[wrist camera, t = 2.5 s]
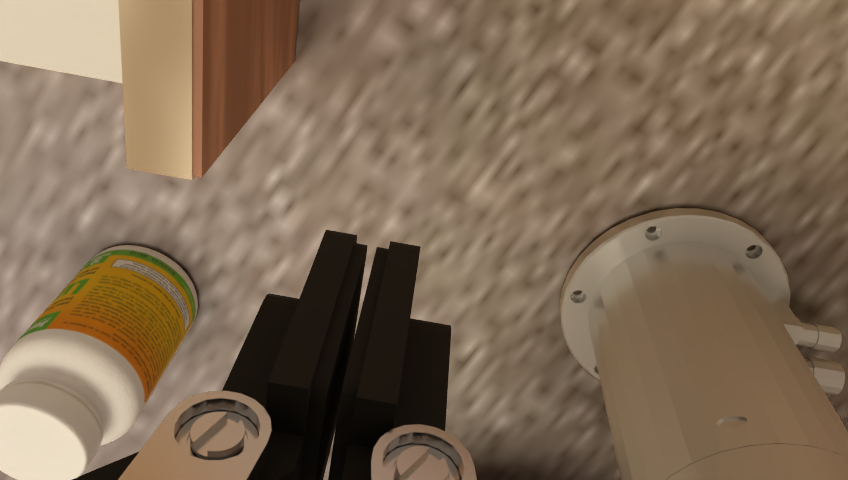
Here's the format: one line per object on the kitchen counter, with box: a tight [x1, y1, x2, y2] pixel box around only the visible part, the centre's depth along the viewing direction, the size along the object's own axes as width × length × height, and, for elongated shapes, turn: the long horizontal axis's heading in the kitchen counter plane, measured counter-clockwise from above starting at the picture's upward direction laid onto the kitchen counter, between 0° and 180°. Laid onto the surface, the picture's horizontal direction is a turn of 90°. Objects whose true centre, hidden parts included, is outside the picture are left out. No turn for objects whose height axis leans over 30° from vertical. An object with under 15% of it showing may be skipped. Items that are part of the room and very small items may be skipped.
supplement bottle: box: [0, 245, 198, 480], centre depth 38 cm, size 7×7×13 cm
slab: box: [118, 0, 299, 180], centre depth 28 cm, size 2×8×14 cm, turn 171°
